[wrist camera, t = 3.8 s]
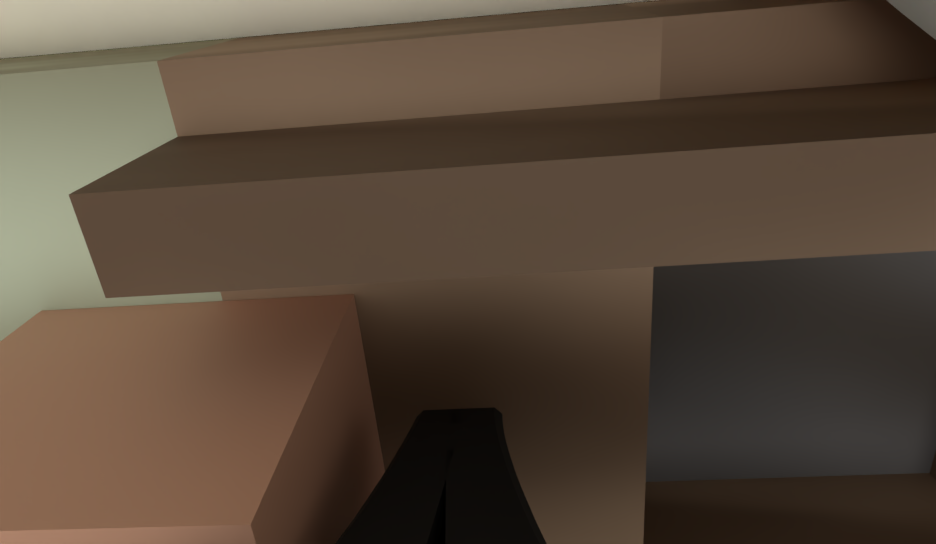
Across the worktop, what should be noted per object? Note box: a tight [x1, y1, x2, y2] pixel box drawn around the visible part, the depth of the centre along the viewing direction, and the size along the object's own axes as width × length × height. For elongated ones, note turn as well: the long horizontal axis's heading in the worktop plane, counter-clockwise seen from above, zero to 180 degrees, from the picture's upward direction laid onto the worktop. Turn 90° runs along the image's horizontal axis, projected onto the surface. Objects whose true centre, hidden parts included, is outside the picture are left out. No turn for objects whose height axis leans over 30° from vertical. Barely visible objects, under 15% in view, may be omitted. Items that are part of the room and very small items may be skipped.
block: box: [0, 294, 385, 544], centre depth 9 cm, size 5×5×4 cm
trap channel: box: [0, 0, 936, 544], centre depth 11 cm, size 12×22×6 cm, turn 95°
